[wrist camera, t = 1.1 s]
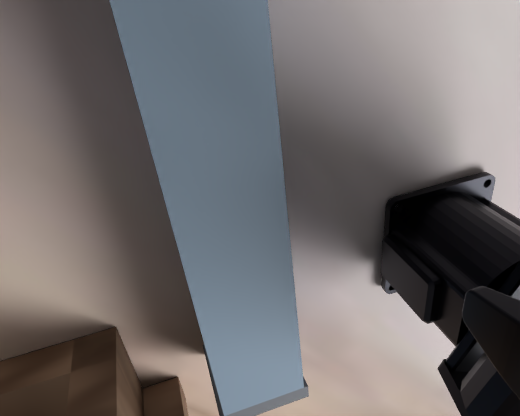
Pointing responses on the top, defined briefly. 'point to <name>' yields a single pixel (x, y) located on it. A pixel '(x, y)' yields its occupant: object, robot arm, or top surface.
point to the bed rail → (222, 185)
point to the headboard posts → (84, 382)
